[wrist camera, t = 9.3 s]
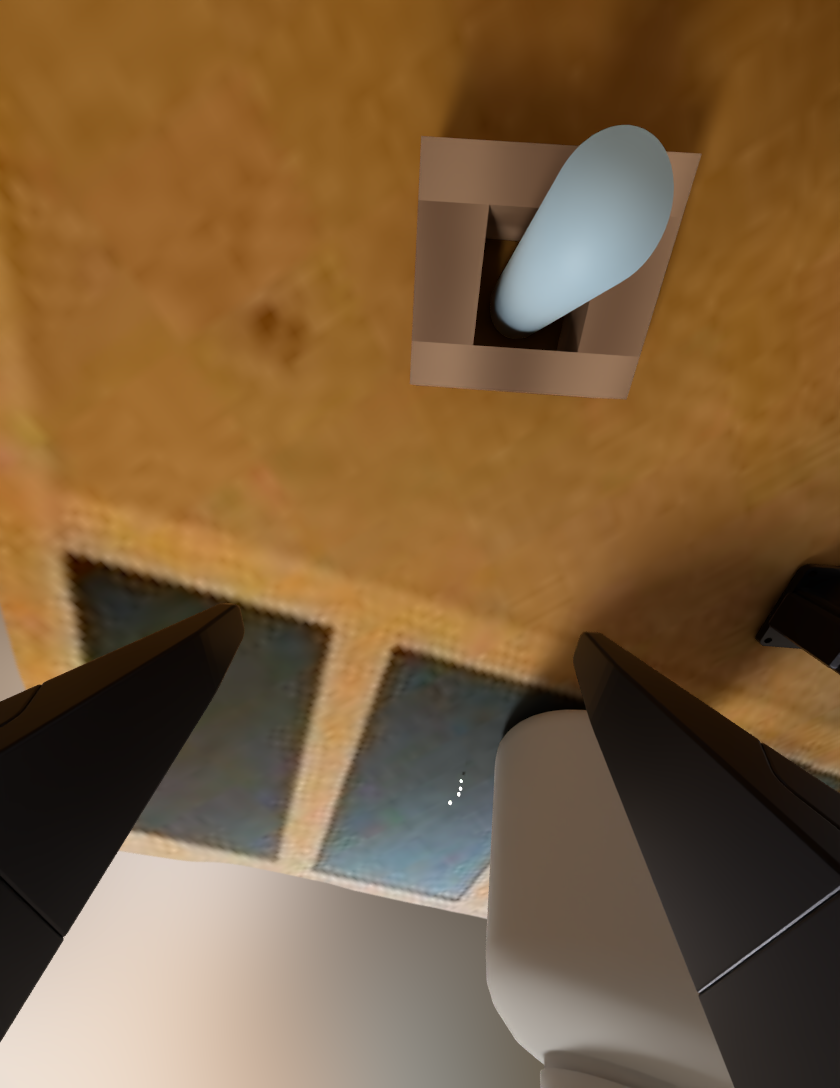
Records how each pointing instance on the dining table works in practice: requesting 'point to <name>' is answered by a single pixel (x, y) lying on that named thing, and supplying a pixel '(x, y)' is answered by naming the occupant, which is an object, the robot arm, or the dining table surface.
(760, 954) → the robot arm
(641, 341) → the socket block
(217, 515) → the dining table surface
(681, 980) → the jar
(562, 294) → the dowel
